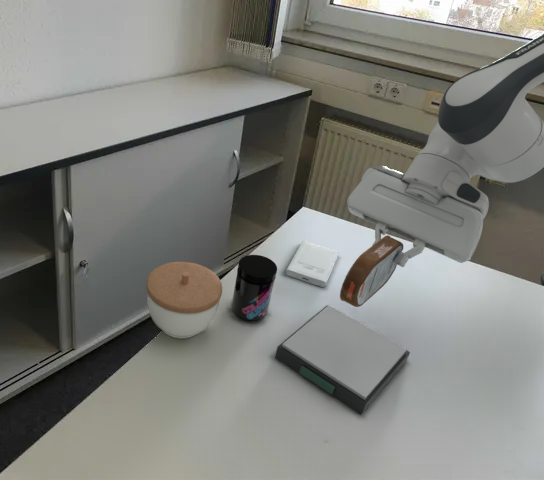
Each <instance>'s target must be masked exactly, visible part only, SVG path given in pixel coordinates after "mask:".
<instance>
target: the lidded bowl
mask: <svg viewBox="0 0 544 480" xmlns="http://www.w3.org/2000/svg"><path fill="white" fill-rule="evenodd" d="M222 294H223V284H222V282H221V279H220V278H219V276H218V275H217V274H216V273H215V272H214V271H213V270H211V269H209V268H208V267H206V266H203V265H202V264H198V263H195V262H189V261H172V262H171V261H170V262H167V263H163V264H161V265H159V266H157V267H155V268H154V269H153V270H152V271H151V272H150V273H149V274H148V276H147V279H146V303H147V309H148V314H149V315H150V318H151V320H152V322H153V323H154V324H155V325H156V326H157V328H159V329H160V330H161V331H162V332H163V333H164V334H165V335H167V336H169V337H171V338H174V339H180V340H181V339H182V340H183V339H190V338H192V337H195V336H196V335H198V334H200V333H202V332H203V331H205V330H206V329H207V328H208V327H209V326H210V325H211V324H212V322H213V321H214V319H215V317H216V315H217V313H218V310H219V306H220V301H221V297H222Z"/></svg>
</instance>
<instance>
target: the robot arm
mask: <svg viewBox="0 0 544 480" xmlns="http://www.w3.org/2000/svg"><path fill="white" fill-rule="evenodd" d="M542 83H543V84H544V33H543V34H541V35H539V36H537V37H535V38H533V39H532V40H530V41H529V42H527V43H526V44H524V45H522V46H520V47H518V48H516V49H514V50H513V51H511V52H510V53H508V54H506V55H505V56H503V57H501V58H500V59H498V60H496V61H494V62H491V63H489V64H487V65H484V66H482V67H480V68H478V69H474V70H472V71H470V72H468V73H466V74H464V75H463V76H461V77H459V78H457V79H456V80H455V81H454V82H453V83H451V84H450V85H449V87H447V89H446V90H445V92H444V94H443V96H442V98H441V101H440V104H439V109H438V113H437V114H438V115H437V122H436V124H435V125H434V126H433V128H432V129H431V132H430V134H429V135H428V137H427V142H426V144H425V145H424V147H423V148H422V149H421V150H420V151H419V152H417V154H416V156H415V157H414V159H413V161H412V162H411V164H410V165H409V167H408V168H407V170H406V172H405V173H402V172H400V171H397V170H394V169H390V168H388V167H387V166H384V165H379V166H371V167H369V168H367V169H366V170H365V172H364V174H363V175H362V176H361V179H360V182H359V183H358V184H357V186H356V187H355V188H354V189H353V190H352V192H351V193H350V194H349V196H348V198H347V199H346V205H347V209H348V211H349V213H350V214H351V215H353V216H356V217H357V218H360V219H362V220H364V221H367V222H369V223H371V224H373V225H375V227H374V242H373V243H372V245H371V247H372V246H373V245H374V244H375V243H377V242H378V241H379V240H381V239H382V236H386V234H387V232H388V231H389V232H390V233H393V234H395V235H398V236H400V237H402V238H404V239H407V240H409V241H411V242H412V248H410V249H408V250H407V251H405V252H403V251H402V252H401V251H399V252H398V254H397V256H396V257H395V259H394V263H395V264H397V266H399V267H402V268H405V266H406V264H407V262H408V261H409V259H410V260H411V259H413V258H415V257H416V256H418V255H420V254H422V253H423V251H424V250H425V248H427V249H428V250H430V251H433V252H435V253H438V254H440V255H442V256H444V257H446V258H448V259H451V260H454V261H455V262H457V263H460V264H464V263H466V262H469V261H470V260H471V259H472V257H473V255H474V253H475V251H476V249H477V247H478V245H479V243H480V240H481V237H482V233H483V227H484V219H485V218H486V216H487V215H488V212H489V207H490V201H489V197H488V195H487V194H486V193H484V192H483V191H481V190H480V189H479V188H477V187H476V186H475V185H473V184H472V183H471V180H472V178H473V177H474V176H480V178H481V177H482V178H484V179H486V180H489V181H494V182H498V183H503V184H519V183H523V182H526V181H529V180H531V179H533V178H535V177H537V176H538V175H539V174H541V173H542V172H543V171H544V121H543V119H542V118H541V117H540V116H539V114H537V113H536V112H535V110H534V108H533V107H532V106H531V104H530V103H529V102H528V100H527V99H526V96H527V94H528V93H529V91H531V90H532V89H533V88H535V87H537V86H539V85H541V84H542Z"/></svg>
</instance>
